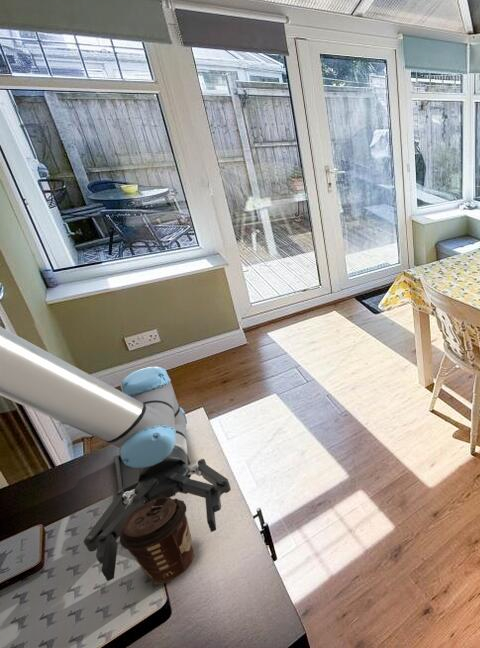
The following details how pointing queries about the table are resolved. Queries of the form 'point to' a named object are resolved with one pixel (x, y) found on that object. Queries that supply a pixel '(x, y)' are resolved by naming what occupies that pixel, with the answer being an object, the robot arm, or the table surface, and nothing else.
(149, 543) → the coffee cup
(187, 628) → the table surface
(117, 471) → the coaster pad
